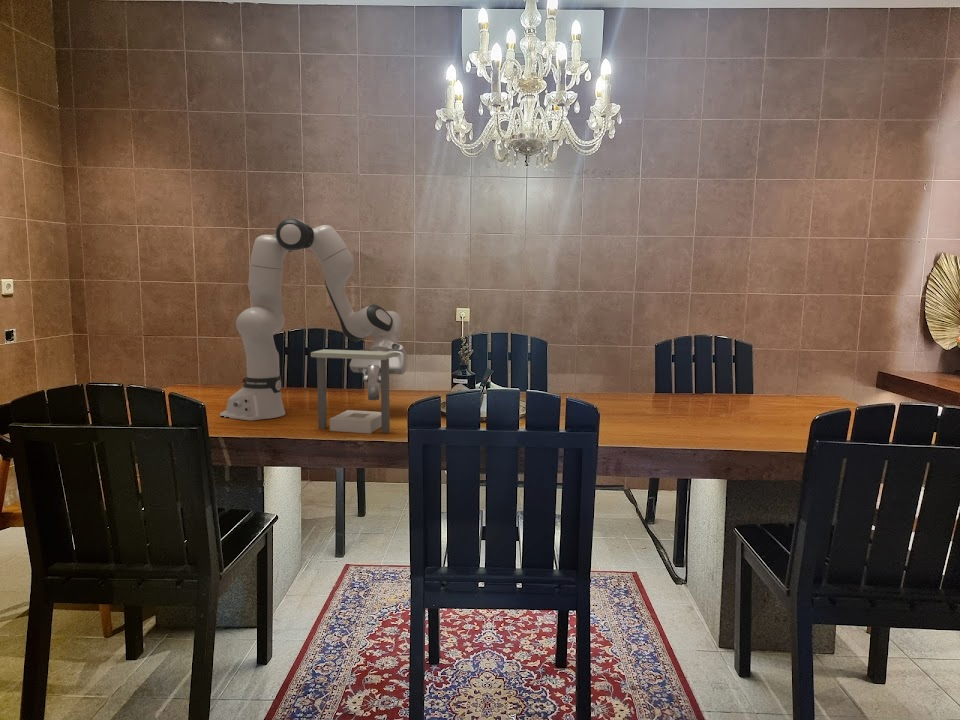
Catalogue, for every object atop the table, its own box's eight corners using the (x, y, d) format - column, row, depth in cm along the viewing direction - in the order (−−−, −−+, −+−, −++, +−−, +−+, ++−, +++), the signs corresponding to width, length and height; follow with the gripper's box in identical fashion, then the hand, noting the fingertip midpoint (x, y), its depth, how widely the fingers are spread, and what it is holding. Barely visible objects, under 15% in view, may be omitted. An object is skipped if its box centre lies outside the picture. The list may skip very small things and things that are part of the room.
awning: (312, 430, 208) (310, 352, 205) (325, 424, 217) (323, 349, 213) (385, 435, 203) (384, 355, 199) (395, 428, 211) (394, 351, 208)
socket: (329, 430, 208) (329, 418, 207) (348, 421, 221) (347, 409, 221) (370, 433, 205) (370, 421, 204) (386, 423, 218) (386, 412, 218)
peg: (366, 399, 224) (365, 365, 222) (370, 397, 228) (370, 364, 226) (376, 400, 223) (376, 366, 221) (381, 398, 227) (380, 364, 225)
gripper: (353, 344, 232) (342, 374, 224) (407, 346, 227) (397, 377, 219) (358, 354, 237) (347, 385, 228) (411, 357, 232) (402, 388, 224)
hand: (372, 381), depth 224 cm, fingers closed on peg, 4 cm apart
